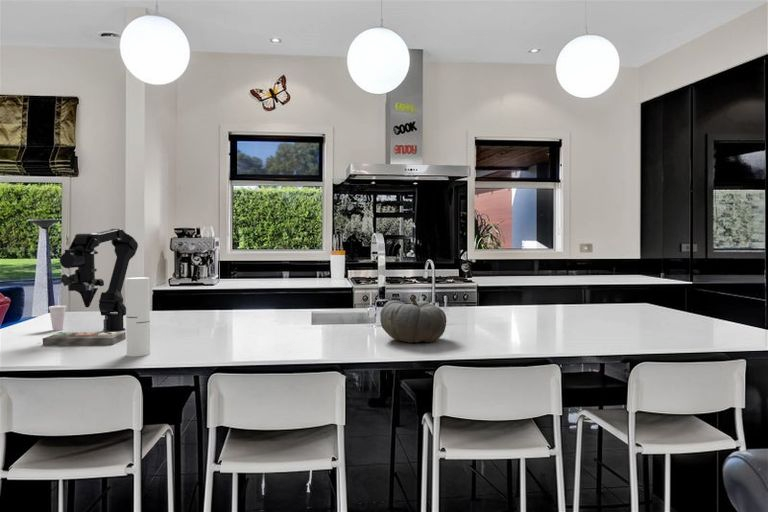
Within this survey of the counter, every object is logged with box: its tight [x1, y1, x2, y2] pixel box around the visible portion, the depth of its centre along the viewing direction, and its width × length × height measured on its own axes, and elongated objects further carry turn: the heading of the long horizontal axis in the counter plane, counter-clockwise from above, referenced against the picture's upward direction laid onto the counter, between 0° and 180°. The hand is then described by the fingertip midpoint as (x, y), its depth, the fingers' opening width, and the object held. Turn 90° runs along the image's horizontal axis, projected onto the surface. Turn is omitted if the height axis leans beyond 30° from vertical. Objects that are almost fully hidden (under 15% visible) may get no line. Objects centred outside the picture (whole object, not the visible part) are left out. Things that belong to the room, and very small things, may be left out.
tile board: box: [42, 331, 127, 347], centre depth 210 cm, size 24×12×2 cm, turn 94°
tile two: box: [51, 331, 74, 337], centre depth 210 cm, size 5×5×3 cm
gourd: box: [379, 295, 447, 343], centre depth 216 cm, size 25×25×17 cm
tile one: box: [75, 331, 95, 337], centre depth 210 cm, size 5×5×3 cm
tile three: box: [98, 331, 119, 336], centre depth 211 cm, size 5×5×3 cm
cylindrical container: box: [125, 276, 151, 358], centre depth 189 cm, size 7×7×25 cm
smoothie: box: [48, 295, 67, 332], centre depth 237 cm, size 6×6×14 cm
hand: (87, 307), depth 220 cm, fingers closed
